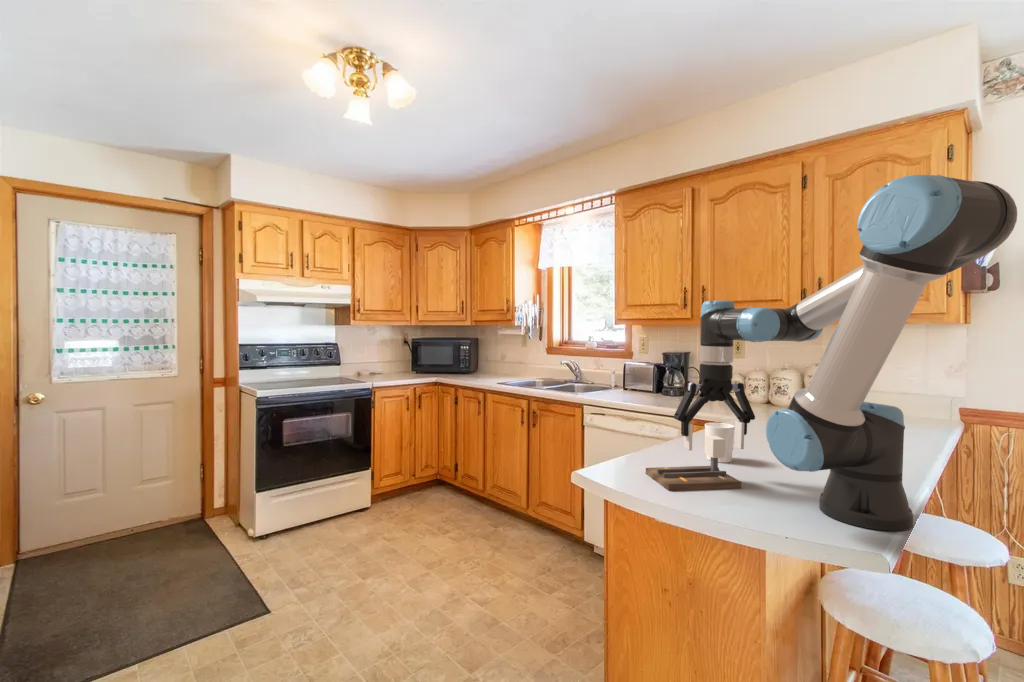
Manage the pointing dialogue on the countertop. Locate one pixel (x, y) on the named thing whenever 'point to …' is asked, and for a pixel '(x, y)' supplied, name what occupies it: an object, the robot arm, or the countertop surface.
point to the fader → (714, 450)
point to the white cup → (723, 432)
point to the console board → (692, 478)
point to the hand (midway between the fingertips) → (713, 448)
